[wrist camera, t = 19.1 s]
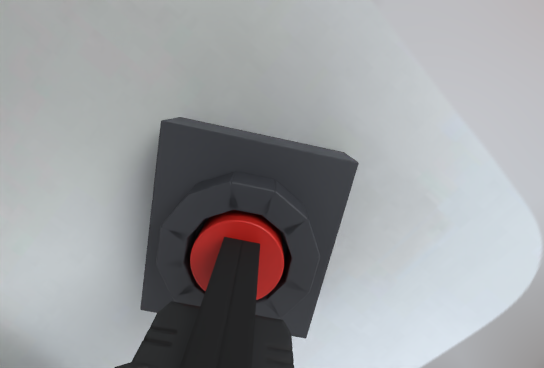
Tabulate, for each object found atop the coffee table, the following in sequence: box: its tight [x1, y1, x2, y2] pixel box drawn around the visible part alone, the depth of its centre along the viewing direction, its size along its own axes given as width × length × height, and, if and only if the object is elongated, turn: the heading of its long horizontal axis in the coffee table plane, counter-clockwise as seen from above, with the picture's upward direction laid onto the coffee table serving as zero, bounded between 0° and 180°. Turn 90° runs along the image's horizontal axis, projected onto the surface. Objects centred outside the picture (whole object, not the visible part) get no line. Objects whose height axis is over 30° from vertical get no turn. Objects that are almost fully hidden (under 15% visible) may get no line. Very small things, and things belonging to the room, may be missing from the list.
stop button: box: [190, 210, 284, 300], centre depth 13 cm, size 4×4×2 cm
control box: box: [141, 117, 358, 338], centre depth 15 cm, size 10×9×4 cm
